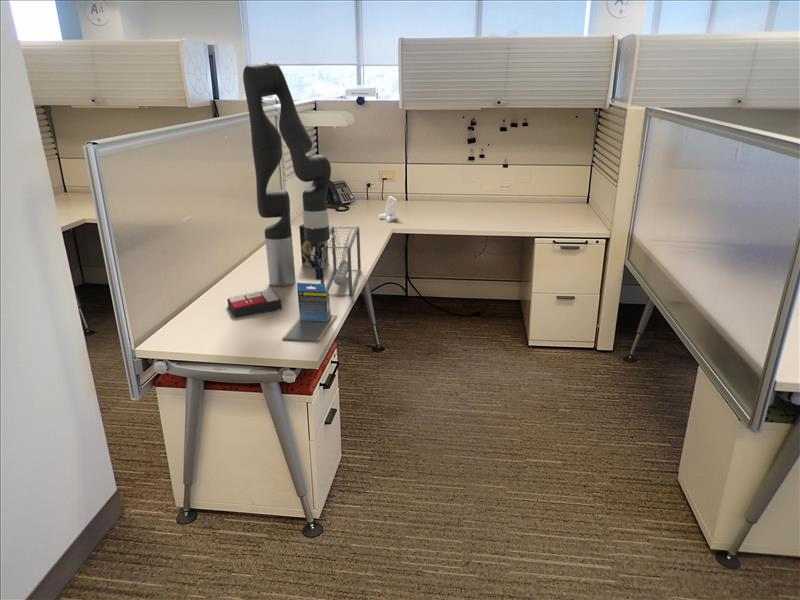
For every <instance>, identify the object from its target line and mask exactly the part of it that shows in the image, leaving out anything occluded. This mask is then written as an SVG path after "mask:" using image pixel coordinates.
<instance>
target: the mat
mask: <svg viewBox="0 0 800 600" xmlns="http://www.w3.org/2000/svg"><path fill="white" fill-rule="evenodd" d="M335 318H337V314H330V319H329V321H328V322H321V321H300V316H298V318H297V319H296V320H295V321H294V322H293V324H291V327H290V328H288V330H287V331H286V333H285V334H284V335H283V336H282V341H291V342H294V341H295V342H305V343H306V342H308V343H309V342H310V343H321V342H322V340H323V339H324V337H325V336H326V334H327V332H328V331H329V329H330V328H331V326H332V325H333V323H334V322H335V320H336V319H335ZM333 321H334V322H333Z"/></svg>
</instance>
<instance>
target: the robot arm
mask: <svg viewBox="0 0 800 600" xmlns="http://www.w3.org/2000/svg"><path fill="white" fill-rule="evenodd" d="M242 82H243V87H244V91H245V92H244V93H245V98H246V103H247V109H248V115H249V116H248V117H249V123H250V133H251V135H250V136H251V147H252V155H253V162H254V169H255V181H256V206H257V211H258V214H259V216H260V217H261V218H262V219H263V218H264V219H270V218H271V219H272V218H280V220H278V221H277V222H275V223H274V224H272V225H269V226H267V227H266V228H265V229H264V238H265V239H264V240H265V250H266V259H267V269H268V270H267V271H268V280H269V285H270V286H274V287H286V286H287V287H288V286H291V285H294V284H295V283H296V270H295V258H294V247H293V233H292V225H291V224H292V222H291V201H290V200H291V199H290V195H289V194H290V193H289V192H288V191H287V190H286V189H275V190H273V189H271V190H267V189H268V184H269V182H270V180H271V177H272V176H273V174H274V173H275V172H276V169H278V166H279V165H280V164H281V161H282V158H283V144H282V139H283V142H284V143H285V144H286V147H287V148H288V150H289V153H290V154H289V155H290V159H291V163H292V167H293V171H294V174H295V177H296V178H298V179H299V180H300V182H301V181H302V182H303V183H310V182H312V184H311V186H310V187H309V188H307V189H304V191H303V192H302V208H303V212H302V213H303V214H302V215H303V216H302V220H303V224H304V235H305V240H306V241H309V242H310V243H311V247H310V252H311V255H308V259H309V261H310V264H311V266H312V267H311V268H312V269H314V271H315V279H316V280H317V281H321V280H322V279H323V278H325V273H324V272H325V271H324V268H325V267H324V263H326V256H327V249H328V250H329V248H328V247H329V246H328V245H325V241H327V240H328V241H330V239H331V237H330V236H331V234H330V232H329V229H330V219H329V212H328V199H327V195H328V190H329V185H330V182H331V181H330V180H331V174H332V166H331V163H330V161H329V159H328V157H326V156H325V155H322V154H318V155H310V156H307V153H308V152H309V153H310V151H311V149H312V148H313V142H312V139H311V137H310V135H309V134H308V132H307V130H306V127H305V126H304V124H303V123H302V120H301V117H300V116H299V114H298V110H297V108H296V105H295V102H294V100H293V99H294V98H293V96H292V93H291V91H290V89H289V86H288V83H287V80H286V77H285V75H284V73H283V70H282V69H281V67H280V66H279V64H278V63H276V62H275V61H267V62H266V61H264V62H259V63H253V64H247V65H246V66H245V67H244V68H243V73H242ZM275 95H276V97H277V99H278V101H279V103H280V114H279V121H278V126H279V127H278V128H279V130H278V129H277V127H276V125H274V124H273V122H272V121H271V119H270V118H269V117H268V116H267V114H266V113H265V110H264V108H263V103H262V102H263V101H262V98H265V97H269V96H275ZM279 131H280V132H279Z"/></svg>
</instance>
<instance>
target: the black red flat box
mask: <svg viewBox="0 0 800 600" xmlns="http://www.w3.org/2000/svg"><path fill="white" fill-rule="evenodd" d="M226 300H227V304H228V305H227V306H228V308H229V311H230V312H231V314H232V316H233V318H234V319H235V318H236V319H237V318H242V317H246V316H252V315H257V314H262V313H267V312H268V313H270V312H276V311H279V310H283V309H282V308H283V307H282V301H281V299H280V297H279V296H278V295H277V293H276V292H275V291H274V289H272V288H269V289H264V290H260V291H259V290H258V291H257V290H256V291H253V292H248V293H245V294H239V295H233V296H229V297H228V298H227V299H226Z"/></svg>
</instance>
